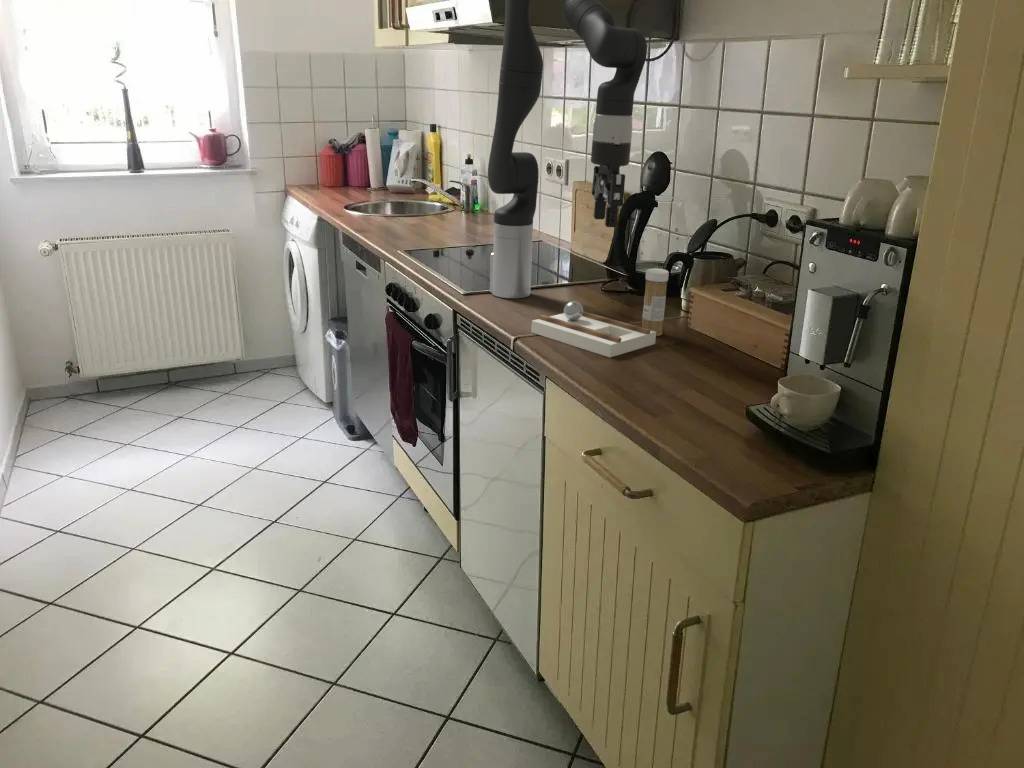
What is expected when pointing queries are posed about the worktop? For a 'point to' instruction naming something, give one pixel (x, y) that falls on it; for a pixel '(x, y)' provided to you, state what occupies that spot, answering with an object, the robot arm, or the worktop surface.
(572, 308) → the ball
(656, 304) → the sprinkles bottle
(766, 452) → the worktop surface
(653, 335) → the track board
